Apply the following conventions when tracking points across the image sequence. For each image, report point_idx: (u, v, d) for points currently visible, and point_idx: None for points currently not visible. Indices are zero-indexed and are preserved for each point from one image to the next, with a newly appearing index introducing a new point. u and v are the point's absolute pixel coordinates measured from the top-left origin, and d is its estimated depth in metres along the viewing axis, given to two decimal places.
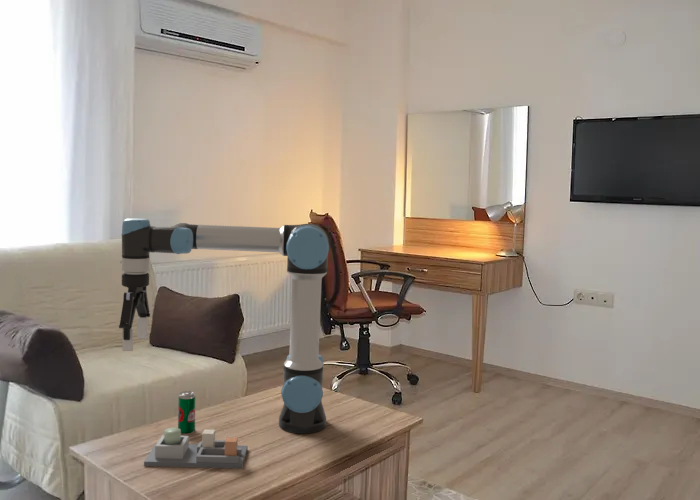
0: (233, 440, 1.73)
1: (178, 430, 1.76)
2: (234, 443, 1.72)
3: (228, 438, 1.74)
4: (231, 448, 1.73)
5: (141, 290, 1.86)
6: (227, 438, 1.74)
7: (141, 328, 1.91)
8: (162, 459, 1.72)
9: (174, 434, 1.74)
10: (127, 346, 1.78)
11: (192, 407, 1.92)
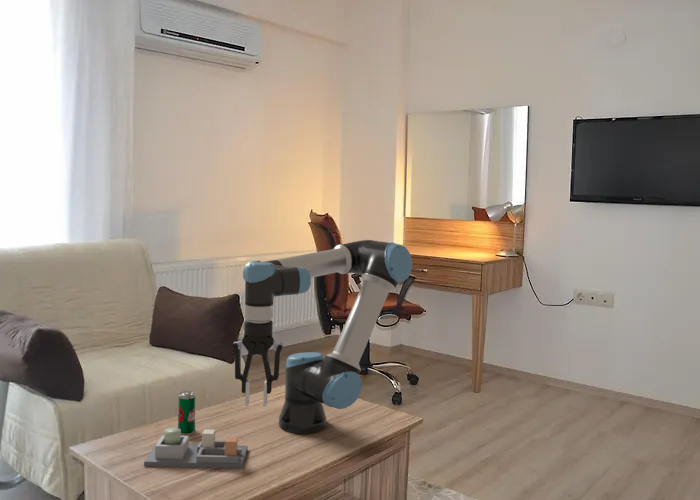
0: (233, 440, 1.73)
1: (178, 430, 1.76)
2: (234, 443, 1.72)
3: (228, 438, 1.74)
4: (231, 448, 1.73)
5: (266, 340, 1.70)
6: (227, 438, 1.74)
7: None
8: (162, 459, 1.72)
9: (174, 434, 1.74)
10: None
11: (192, 407, 1.92)
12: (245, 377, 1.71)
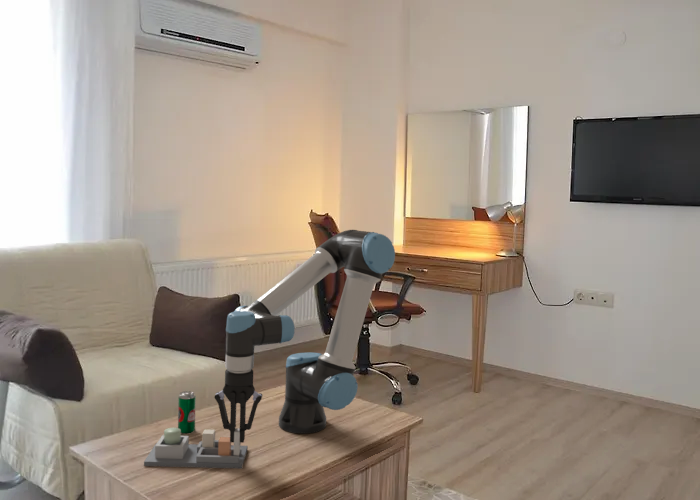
0: (227, 440, 1.73)
1: (178, 430, 1.76)
2: (228, 443, 1.72)
3: (222, 438, 1.74)
4: (225, 447, 1.72)
5: (247, 389, 1.71)
6: (221, 438, 1.74)
7: None
8: (162, 459, 1.72)
9: (174, 434, 1.74)
10: None
11: (192, 407, 1.92)
12: (233, 427, 1.72)
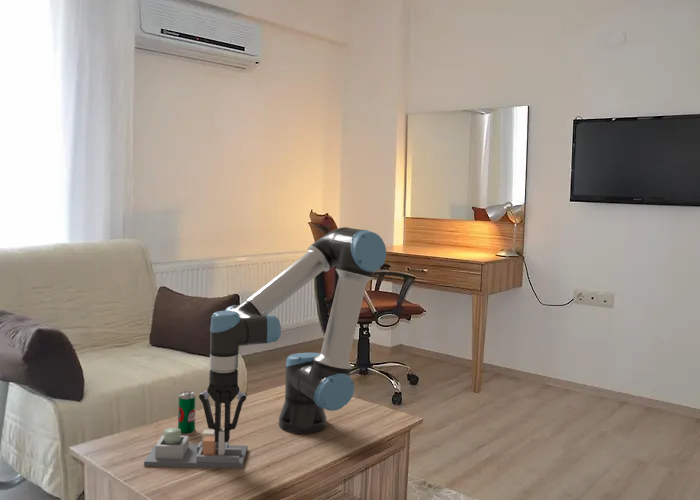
0: (211, 439, 1.73)
1: (178, 430, 1.76)
2: (212, 442, 1.72)
3: (206, 437, 1.74)
4: (209, 447, 1.72)
5: (231, 388, 1.71)
6: (205, 437, 1.74)
7: None
8: (162, 459, 1.72)
9: (174, 434, 1.74)
10: None
11: (192, 407, 1.92)
12: (217, 426, 1.72)
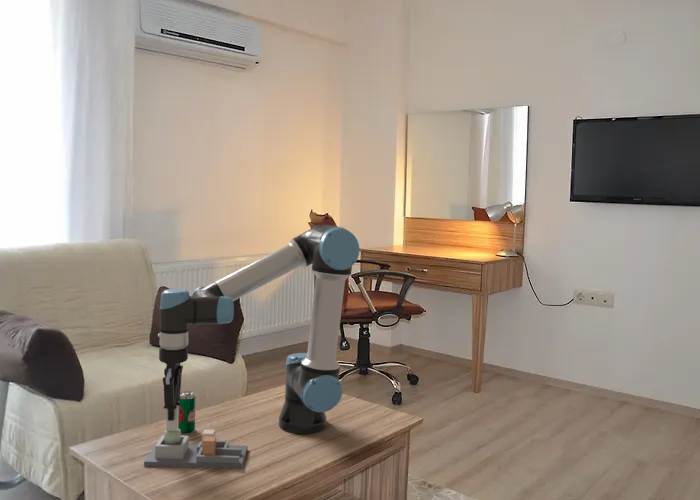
0: (211, 439, 1.73)
1: (178, 430, 1.76)
2: (212, 442, 1.72)
3: (206, 437, 1.74)
4: (209, 447, 1.72)
5: None
6: (205, 437, 1.74)
7: None
8: (162, 459, 1.72)
9: (174, 434, 1.74)
10: (171, 426, 1.75)
11: (192, 407, 1.92)
12: (176, 403, 1.74)
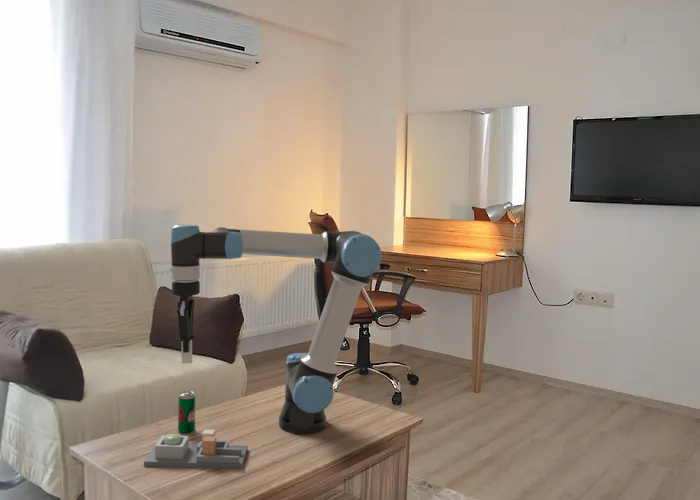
0: (211, 439, 1.73)
1: (178, 436, 1.76)
2: (212, 442, 1.72)
3: (206, 437, 1.74)
4: (209, 447, 1.72)
5: (191, 296, 1.81)
6: (205, 437, 1.74)
7: None
8: (162, 459, 1.72)
9: (174, 440, 1.74)
10: (186, 358, 1.80)
11: (192, 407, 1.92)
12: (190, 336, 1.79)
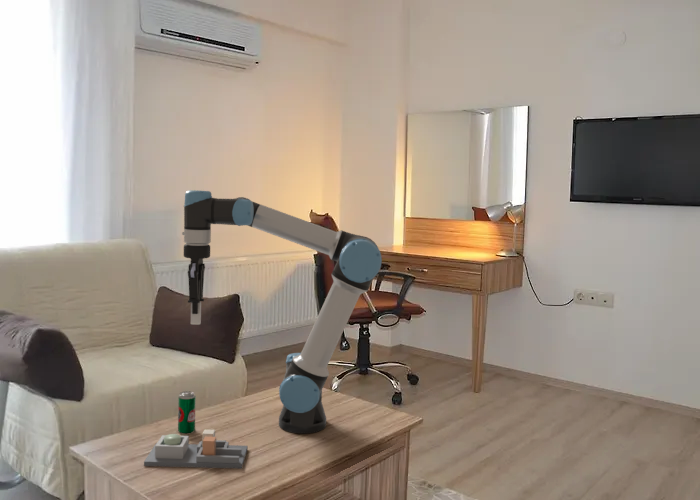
0: (211, 439, 1.73)
1: (178, 436, 1.76)
2: (212, 442, 1.72)
3: (206, 437, 1.74)
4: (209, 447, 1.72)
5: (202, 260, 1.87)
6: (205, 437, 1.74)
7: None
8: (162, 459, 1.72)
9: (174, 440, 1.74)
10: (195, 320, 1.86)
11: (192, 407, 1.92)
12: (199, 298, 1.85)
